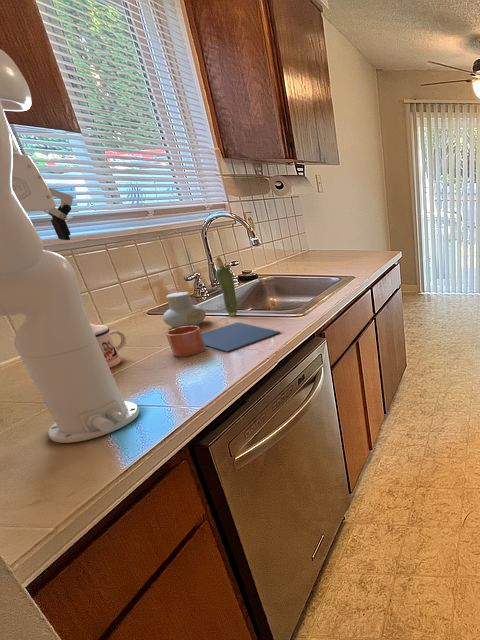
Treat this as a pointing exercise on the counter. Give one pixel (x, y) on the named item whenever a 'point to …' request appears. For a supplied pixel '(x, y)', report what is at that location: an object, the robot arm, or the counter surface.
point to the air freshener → (182, 311)
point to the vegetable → (226, 287)
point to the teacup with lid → (108, 343)
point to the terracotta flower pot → (185, 340)
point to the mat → (235, 336)
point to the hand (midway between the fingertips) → (33, 243)
